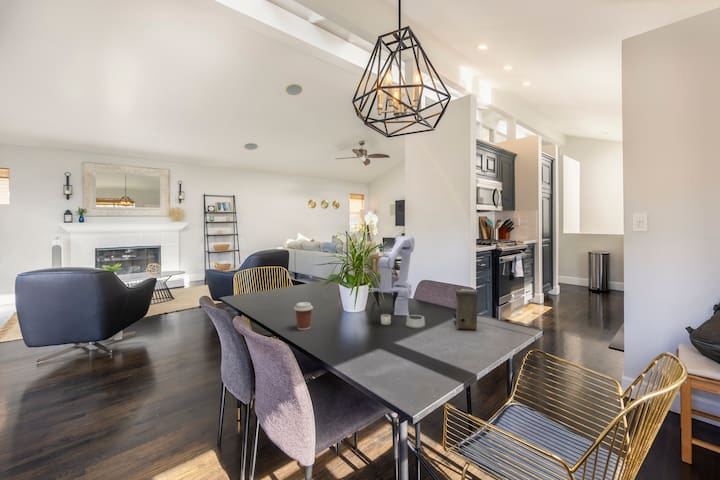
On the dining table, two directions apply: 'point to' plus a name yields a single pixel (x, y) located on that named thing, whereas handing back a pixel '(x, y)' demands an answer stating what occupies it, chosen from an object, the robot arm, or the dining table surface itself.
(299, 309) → the coffee cup
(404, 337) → the dining table surface
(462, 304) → the vintage camera
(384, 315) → the beige short cylinder
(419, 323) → the lens barrel
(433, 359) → the dining table surface
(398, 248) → the robot arm
